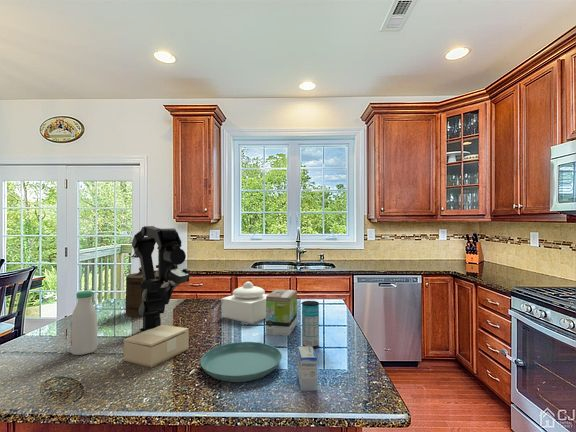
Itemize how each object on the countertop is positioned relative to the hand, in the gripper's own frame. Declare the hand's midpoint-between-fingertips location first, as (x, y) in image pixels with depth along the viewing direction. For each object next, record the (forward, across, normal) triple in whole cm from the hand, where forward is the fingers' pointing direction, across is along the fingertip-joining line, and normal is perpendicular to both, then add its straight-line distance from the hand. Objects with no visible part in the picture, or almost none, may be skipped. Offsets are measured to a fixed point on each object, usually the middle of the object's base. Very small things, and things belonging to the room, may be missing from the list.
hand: (166, 304), depth 125 cm
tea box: (+13, +28, -34) cm, 46 cm away
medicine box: (+13, -10, -60) cm, 62 cm away
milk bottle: (+13, -20, +17) cm, 29 cm away
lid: (+7, -12, -8) cm, 16 cm away
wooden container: (+13, +23, +38) cm, 46 cm away
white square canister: (+13, +39, -12) cm, 43 cm away
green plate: (+13, -8, -38) cm, 41 cm away
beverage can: (+13, +16, -51) cm, 55 cm away
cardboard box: (+13, -12, -8) cm, 19 cm away
